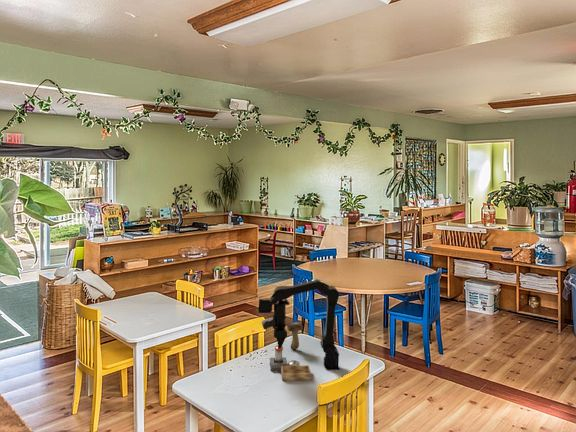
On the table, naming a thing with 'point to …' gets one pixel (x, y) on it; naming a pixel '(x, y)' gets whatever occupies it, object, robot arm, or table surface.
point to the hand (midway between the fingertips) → (279, 344)
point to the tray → (295, 373)
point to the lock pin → (278, 354)
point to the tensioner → (281, 364)
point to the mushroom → (295, 334)
